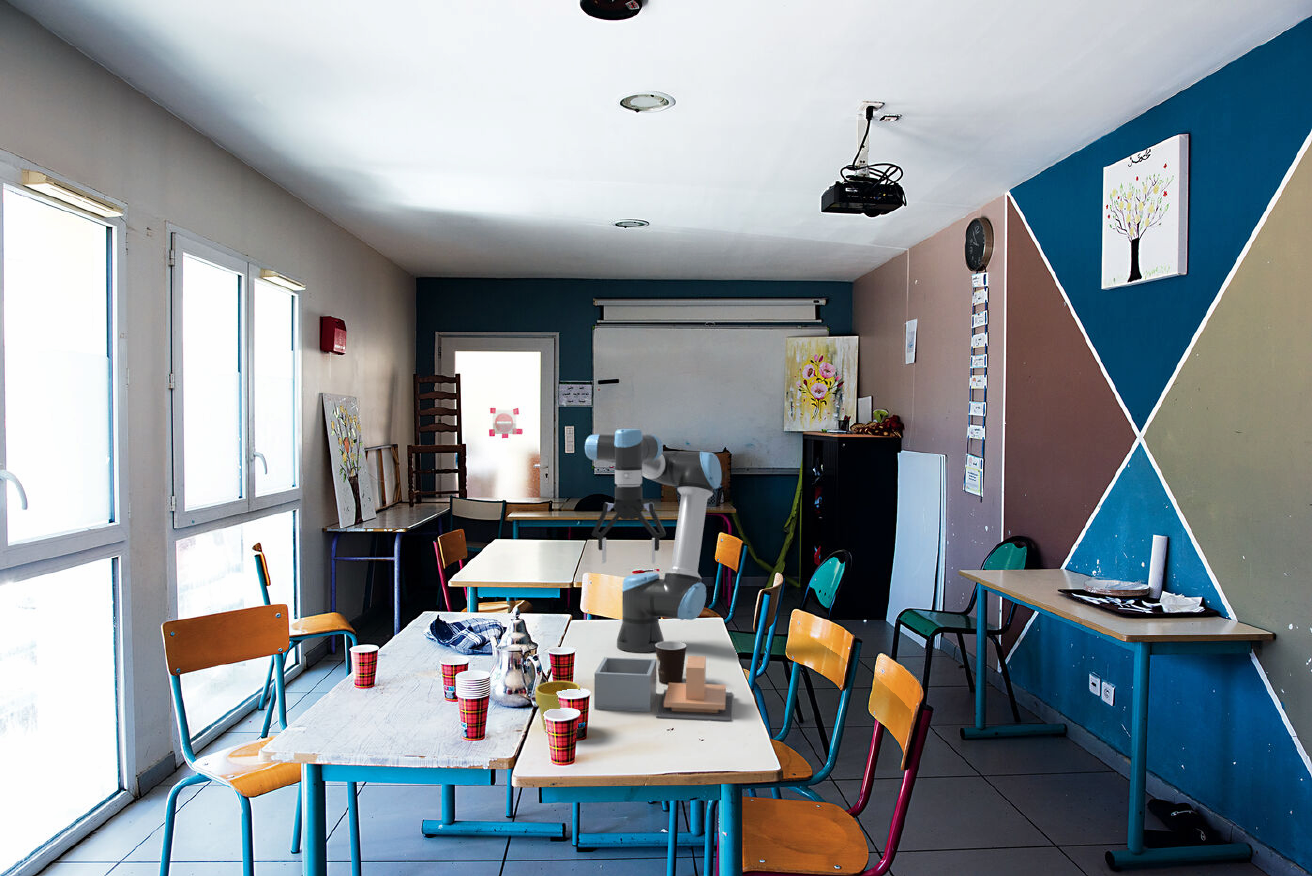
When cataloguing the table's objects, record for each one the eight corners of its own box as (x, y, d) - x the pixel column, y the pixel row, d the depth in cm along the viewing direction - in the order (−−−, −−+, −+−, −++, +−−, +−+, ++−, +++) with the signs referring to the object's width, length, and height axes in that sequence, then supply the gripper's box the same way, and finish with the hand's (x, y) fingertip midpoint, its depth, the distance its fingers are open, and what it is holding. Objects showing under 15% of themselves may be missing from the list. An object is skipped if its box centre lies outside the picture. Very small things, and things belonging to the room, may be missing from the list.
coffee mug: (683, 687, 218) (683, 650, 218) (652, 684, 219) (652, 648, 219) (690, 674, 229) (690, 639, 229) (660, 672, 231) (660, 637, 231)
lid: (668, 692, 212) (669, 652, 212) (725, 695, 210) (726, 654, 210) (663, 713, 197) (664, 669, 197) (725, 715, 195) (725, 672, 195)
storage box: (604, 690, 214) (604, 657, 214) (656, 693, 213) (656, 659, 213) (594, 709, 200) (594, 673, 200) (649, 711, 199) (650, 675, 199)
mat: (664, 691, 214) (664, 689, 214) (732, 694, 213) (732, 692, 213) (656, 718, 195) (656, 716, 195) (730, 721, 193) (730, 719, 193)
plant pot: (530, 736, 182) (531, 694, 182) (540, 720, 193) (540, 679, 192) (575, 738, 182) (576, 695, 181) (583, 721, 192) (583, 681, 192)
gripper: (581, 486, 217) (581, 564, 218) (673, 486, 215) (673, 565, 216) (585, 483, 224) (585, 559, 225) (674, 484, 223) (674, 560, 224)
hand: (628, 562), depth 221 cm, fingers open, 13 cm apart
